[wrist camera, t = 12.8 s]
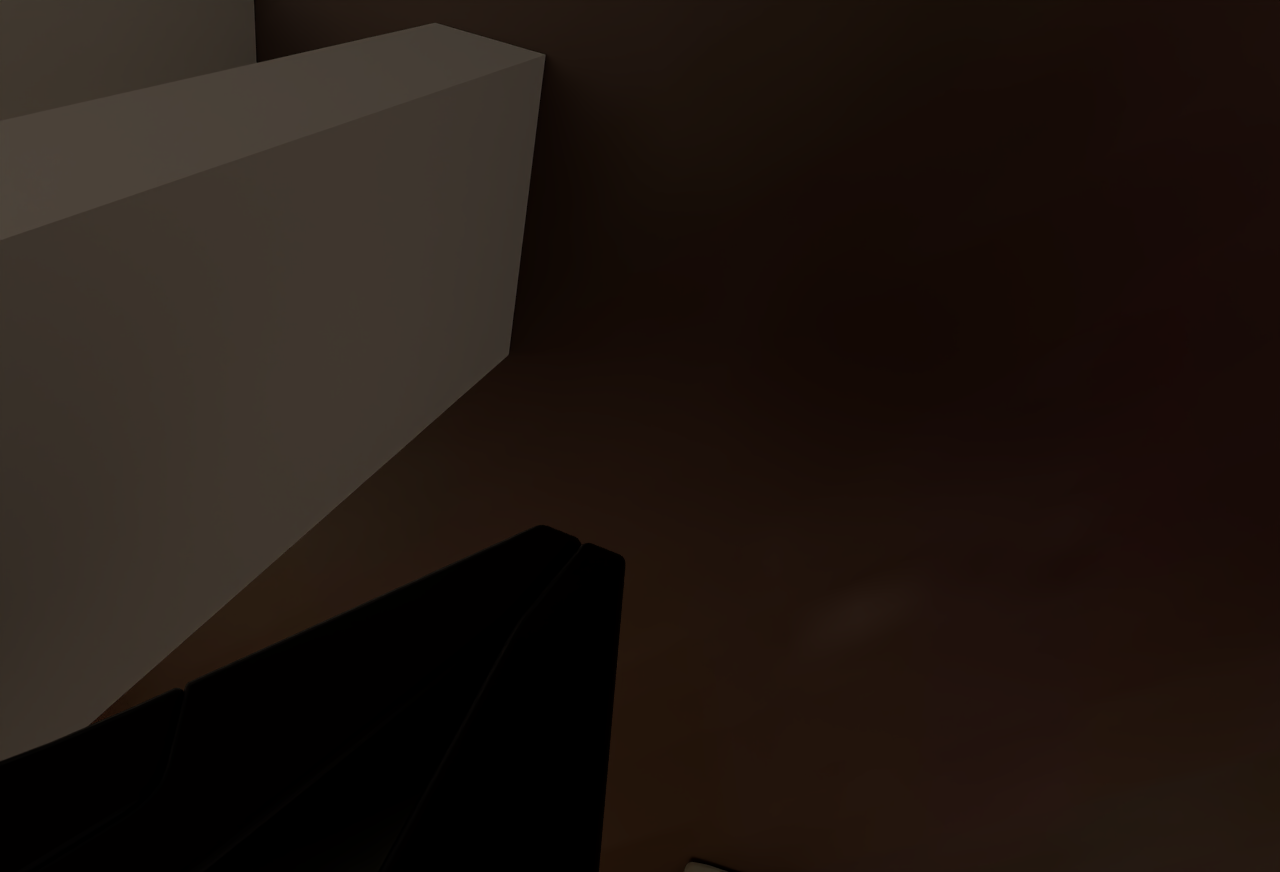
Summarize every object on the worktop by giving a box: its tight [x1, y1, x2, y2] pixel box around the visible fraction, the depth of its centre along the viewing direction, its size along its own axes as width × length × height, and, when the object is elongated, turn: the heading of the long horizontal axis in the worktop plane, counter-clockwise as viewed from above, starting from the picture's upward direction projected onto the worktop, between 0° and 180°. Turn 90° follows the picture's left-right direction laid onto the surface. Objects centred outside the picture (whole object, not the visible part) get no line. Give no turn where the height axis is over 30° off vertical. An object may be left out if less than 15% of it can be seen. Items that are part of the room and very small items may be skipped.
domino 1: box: [0, 23, 546, 761], centre depth 11 cm, size 2×5×10 cm, turn 169°
